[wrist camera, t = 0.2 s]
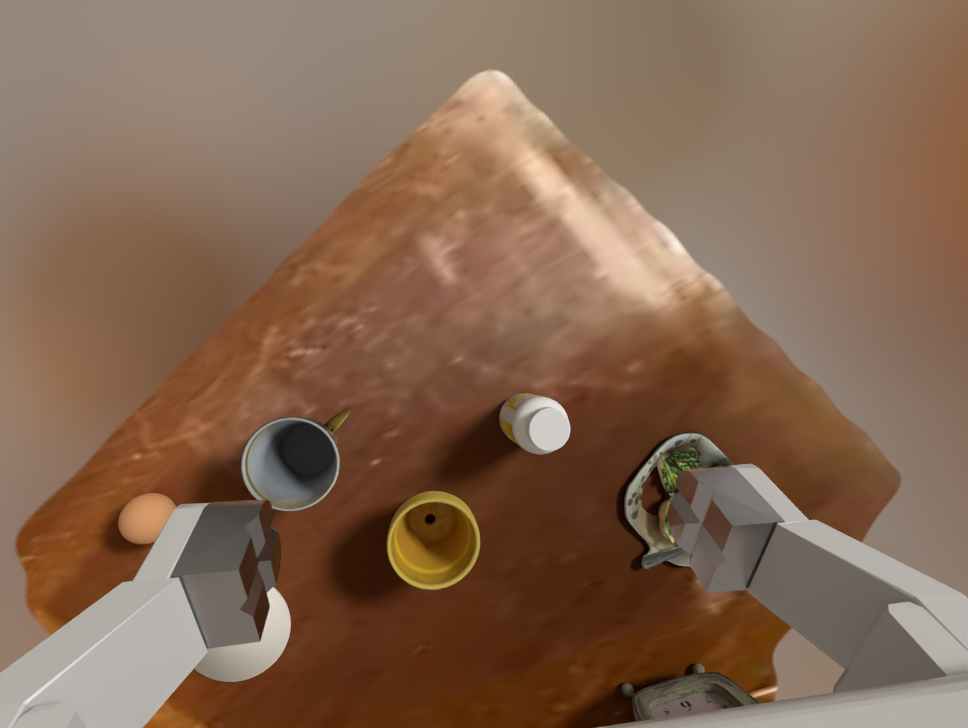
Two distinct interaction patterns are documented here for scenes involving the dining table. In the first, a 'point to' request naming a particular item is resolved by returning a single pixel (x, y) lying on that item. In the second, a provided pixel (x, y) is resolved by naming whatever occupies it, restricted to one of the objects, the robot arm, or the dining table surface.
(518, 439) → the supplement bottle
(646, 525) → the avocado toast plate
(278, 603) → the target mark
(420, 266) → the dining table surface
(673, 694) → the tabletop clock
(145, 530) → the ball
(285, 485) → the ceramic cup
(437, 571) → the plant pot
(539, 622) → the dining table surface
